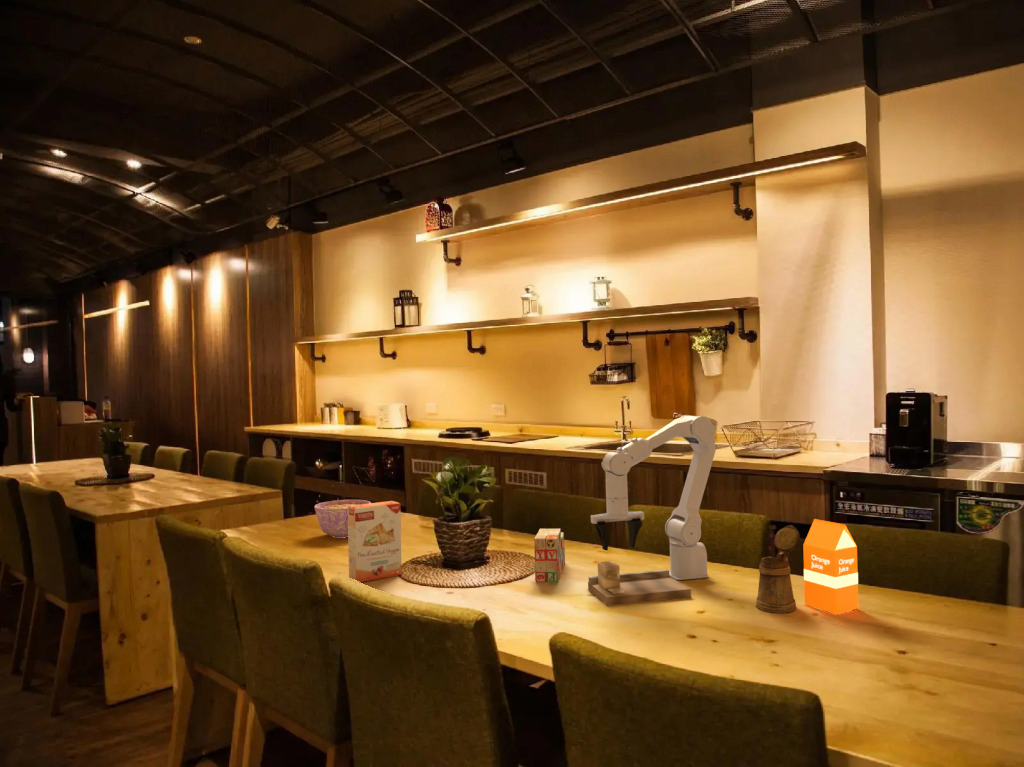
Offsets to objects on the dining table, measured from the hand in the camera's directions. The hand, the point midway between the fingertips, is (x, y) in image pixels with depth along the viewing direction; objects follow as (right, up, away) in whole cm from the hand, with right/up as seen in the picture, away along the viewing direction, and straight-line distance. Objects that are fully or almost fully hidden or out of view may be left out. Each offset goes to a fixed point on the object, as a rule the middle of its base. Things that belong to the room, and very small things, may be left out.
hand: (618, 548), depth 193 cm
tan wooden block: (-4, -7, -9) cm, 12 cm away
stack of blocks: (-17, -10, +13) cm, 24 cm away
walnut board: (+4, -9, -10) cm, 14 cm away
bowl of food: (-90, -12, +69) cm, 114 cm away
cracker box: (-67, -11, +12) cm, 69 cm away
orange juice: (+46, -8, -24) cm, 53 cm away
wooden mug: (+35, -9, -22) cm, 42 cm away
